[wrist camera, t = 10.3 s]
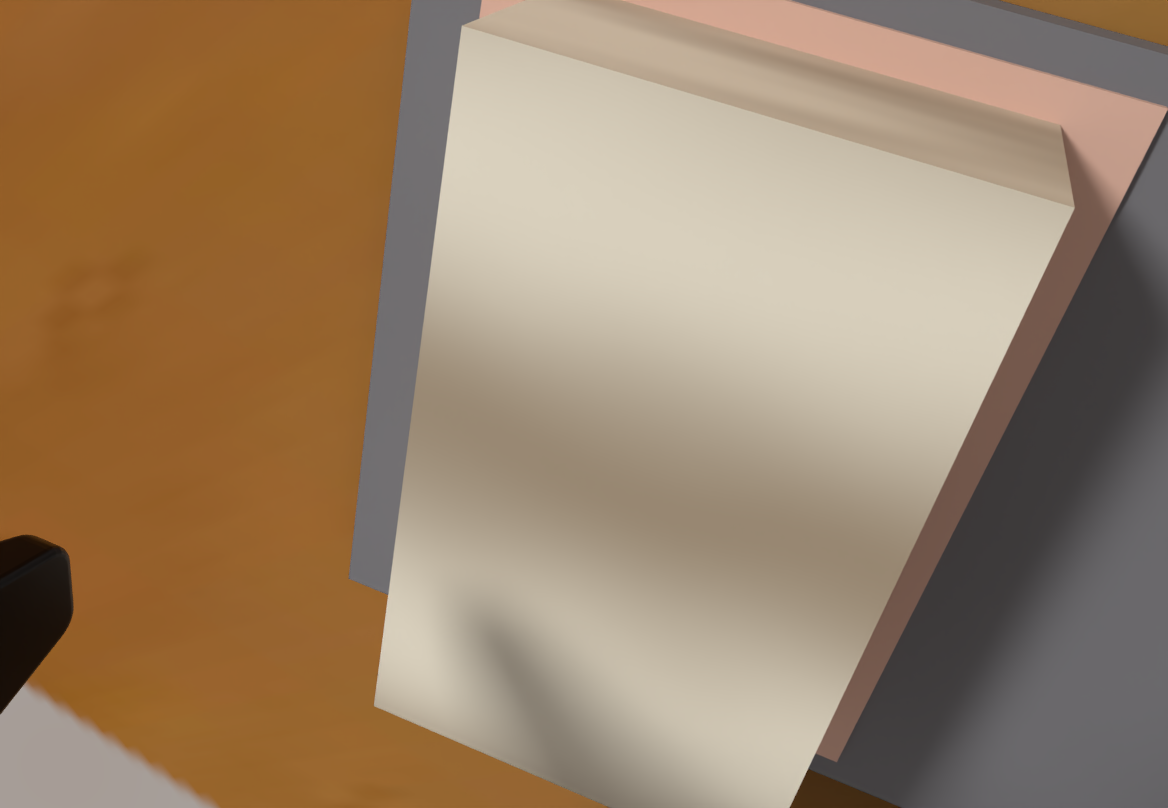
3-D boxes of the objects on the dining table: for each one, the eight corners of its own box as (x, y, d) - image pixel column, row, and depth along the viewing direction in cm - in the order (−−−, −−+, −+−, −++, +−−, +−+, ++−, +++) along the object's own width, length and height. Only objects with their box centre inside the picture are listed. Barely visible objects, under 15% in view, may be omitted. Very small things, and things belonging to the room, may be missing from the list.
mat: (2531, 419, 10) (2627, 458, 9) (1598, 1064, 16) (1620, 1110, 16) (449, -151, 13) (424, -149, 13) (365, 559, 20) (345, 581, 19)
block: (794, 719, 17) (759, 871, 15) (459, 584, 18) (373, 706, 16) (1060, 124, 12) (1075, 207, 9) (565, -16, 13) (462, 26, 11)
